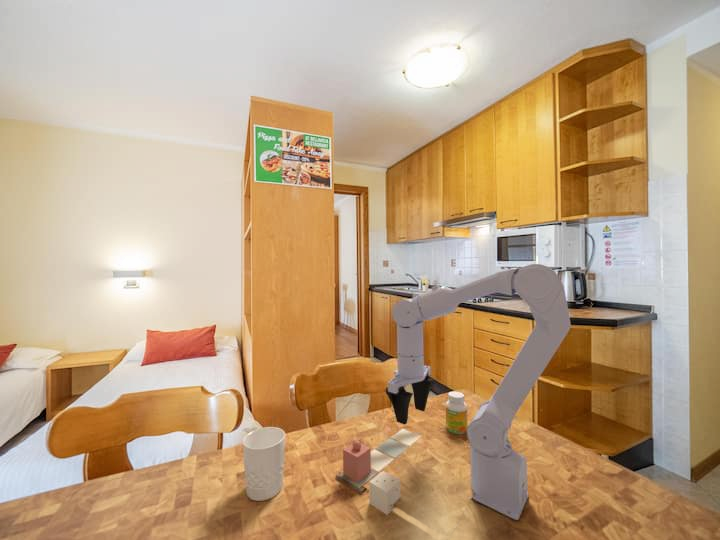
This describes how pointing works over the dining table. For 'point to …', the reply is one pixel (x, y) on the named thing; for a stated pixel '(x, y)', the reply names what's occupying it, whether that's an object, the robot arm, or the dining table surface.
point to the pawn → (357, 461)
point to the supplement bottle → (456, 413)
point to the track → (382, 457)
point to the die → (384, 492)
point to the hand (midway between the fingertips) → (411, 415)
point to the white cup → (264, 462)
